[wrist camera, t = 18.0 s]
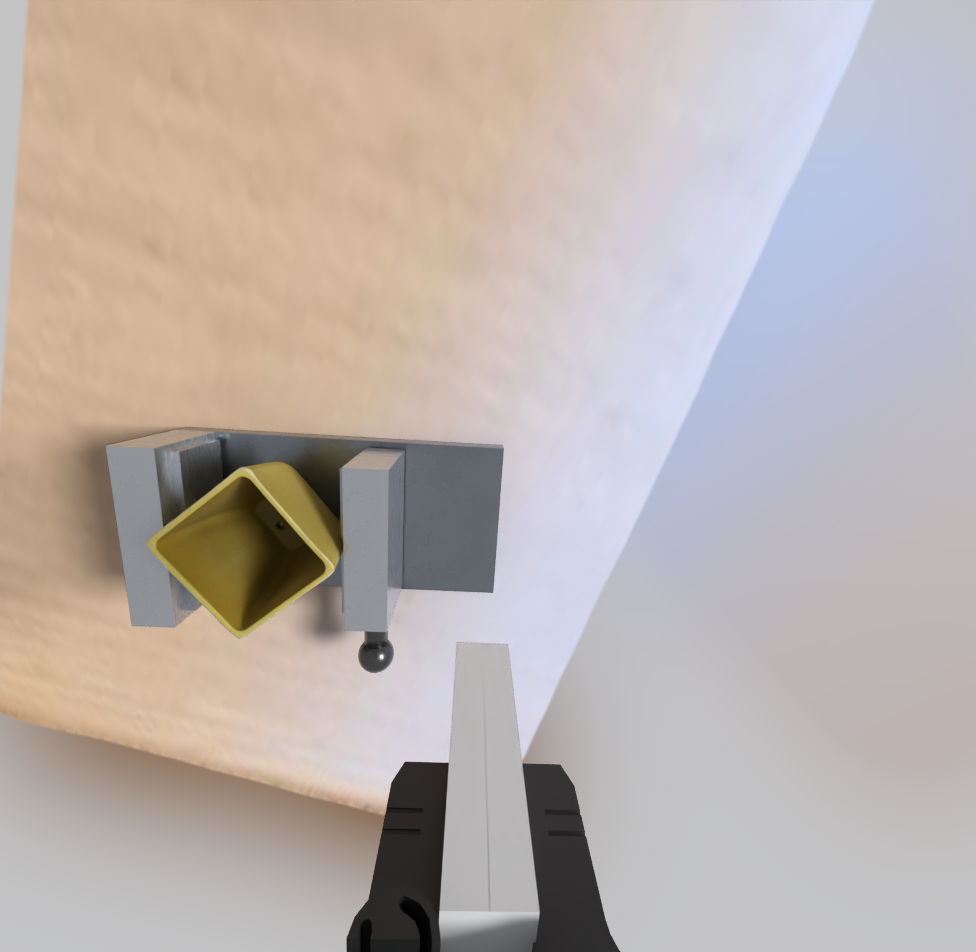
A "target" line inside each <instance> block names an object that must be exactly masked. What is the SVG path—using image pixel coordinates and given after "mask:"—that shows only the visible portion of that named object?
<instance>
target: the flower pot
mask: <svg viewBox="0 0 976 952" xmlns="http://www.w3.org/2000/svg"><path fill="white" fill-rule="evenodd" d="M279 522H281V523H283V524H284V527H283V528H279V527H278V526H277V524H278V523H279ZM146 545H147V547H148V548H149V550H150V551H151V552H152V554H153V555H154V556H155V557H156V558H157V559H158V560H159V561H160V562H161V563H162V564H163V565H164V566H165V567H166V568H167V569H168V570H169V572H170V573H171V574H173V575H174V576H175V577H176V578H177V579H178V580H179V581H180V582H181V583H182V584H183V585H184V587H185V588H186V589H187V590H188V591H189V592H191V593H192V594H193V596H195V597H196V598H197V599H198V600H199V601H200V602H201V603H202V605H203V606H204V607H205V608H206V609H207V610H208V611H209V612H210V613H211V614H212V615H213V616H214V617H215V618H216V619H217V620H218V621H219V622H220V623H221V624H222V625H223V626H224V627H225V628H226V629H227V630H228V631H229V632H231V633H232V634H233V635H235V636H236V637H237V638H239V639H240V638H243V637H245V636H247V635H248V634H250V633H251V632H253V631H254V630H255V629H257V628H258V627H259V626H261V625H262V624H263V623H265V622H266V621H267V620H269V619H270V618H272V617H273V616H274V615H276V614H277V613H278V612H280V611H281V610H283V609H284V608H285V607H287V606H288V605H289V604H291V603H292V602H294V601H295V600H296V599H298V598H299V597H301V596H302V595H303V594H305V593H306V592H308V591H309V590H311V589H312V588H314V587H315V586H317V585H318V584H320V583H321V582H322V581H324V580H325V579H326V578H328V577H329V576H330V575H331V574H332V573H333V572H334V570H335V568H336V565H337V563H338V561H339V558H340V556H341V554H342V551H343V549H342V546H341V522H340V521H339V520H338V518H337V517H336V516H335V515H334V514H333V513H332V512H331V510H330V509H329V508H328V507H327V506H326V505H325V503H324V502H323V501H322V500H321V499H320V498H319V496H318V495H317V494H316V493H315V492H314V490H313V489H312V488H311V487H310V486H309V485H308V483H307V482H306V481H305V480H304V479H303V477H302V476H301V475H300V474H299V473H298V472H297V471H296V470H295V469H294V468H293V467H291V466H290V465H288V464H286V463H283V462H269V463H262V464H257V465H251V466H246V467H241V468H239V469H237V470H236V471H234V472H233V473H232V474H231V475H229V476H228V477H227V478H226V479H225V480H223V481H222V482H221V483H220V484H218V485H217V486H216V487H214V488H213V489H212V490H211V491H209V492H208V493H207V494H206V495H204V496H203V497H202V498H201V499H199V500H198V501H197V502H195V503H194V504H193V505H192V506H190V507H189V508H188V509H186V510H185V511H184V512H182V513H181V514H180V515H179V516H177V517H176V518H175V519H174V520H172V521H171V522H170V523H168V524H167V525H166V526H164V527H163V528H162V529H160V530H159V531H158V532H156V533H155V534H154V535H153V536H152V537H150V538H149V539H148V540H147V542H146Z"/></svg>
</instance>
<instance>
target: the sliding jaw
mask: <svg viewBox="0 0 976 952" xmlns="http://www.w3.org/2000/svg"><path fill="white" fill-rule="evenodd" d="M404 467H405V450H401V449H384V448H366V449H365V450H363V451H362V452H361V453H360V454H358V455H357V456H356V457H354V458H353V459H352V460H350V461H349V462H348V463H347V464H345V465H344V466H343V467H342V468H340V516H341V546H342V549H343V551H342V554H341V574H342V613H344V614H345V631H365V641H364V643H363V644H362V645H361V647H360V649H359V653H358V658H359V662H360V665H361V666H362V667H363V668H364V669H365V670H366V671H368V672H371V673H378V672H381V671H383V670H385V669H386V668H387V667H388V666H389V665H390V663H391V662H392V659H393V655H394V650H393V646H392V644H391V643H390V641H389V640H388V628H389V625H390V622H391V618H392V615H393V612H394V609H395V606H396V603H397V600H398V597H399V594H400V591H401V588H402V573H403V520H404Z"/></svg>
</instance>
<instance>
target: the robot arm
mask: <svg viewBox="0 0 976 952" xmlns="http://www.w3.org/2000/svg"><path fill="white" fill-rule="evenodd" d="M347 952H620V951H619V949H618V948H617V946H616V944H615V942H614V940H613V938H612V936H611V935H610V932H609V929H608V926H607V923H606V920H605V916H604V912H603V908H602V903H601V899H600V894H599V890H598V886H597V882H596V878H595V873H594V869H593V865H592V860H591V856H590V852H589V847H588V844H587V839H586V837H585V831H584V826H583V822H582V817H581V815H580V809H579V805H578V800H577V796H576V792H575V787H574V785H573V783H572V782H571V780H570V779H569V777H568V776H567V774H566V773H565V771H564V770H563V768H562V767H561V765H555V764H552V765H551V764H522V758H521V749H520V741H519V732H518V724H517V715H516V707H515V698H514V690H513V681H512V673H511V664H510V656H509V647H508V644H493V643H468V642H457V645H456V660H455V676H454V692H453V707H452V723H451V739H450V754H449V763H431V762H405V763H404V764H403V766H402V767H401V769H400V770H399V772H398V773H397V775H396V777H395V778H394V780H393V781H392V783H391V788H390V793H389V798H388V803H387V810H386V814H385V819H384V825H383V830H382V834H381V839H380V844H379V849H378V855H377V859H376V864H375V870H374V875H373V880H372V885H371V890H370V895H369V900H368V901H367V902H366V903H365V905H364V906H363V907H362V909H361V910H360V911H359V912H358V914H357V915H356V916H355V918H354V921H353V923H352V926H351V928H350V931H349V934H348V936H347Z"/></svg>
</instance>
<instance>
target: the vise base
mask: <svg viewBox="0 0 976 952" xmlns="http://www.w3.org/2000/svg"><path fill="white" fill-rule="evenodd" d="M366 448H384V449H401V450H405V467H404V520H403V573H402V588H401V589H419V590H442V591H465V592H488V593H493V587H494V574H495V560H496V546H497V533H498V519H499V506H500V492H501V478H502V465H503V451H504V448H503V445H489V444H472V443H455V442H437V441H420V440H403V439H386V438H368V437H351V436H334V435H316V434H299V433H282V432H265V431H247V430H230V429H213V428H196V427H186V428H181V429H177V430H173V431H168V432H164V433H159V434H155V435H150V436H146V437H142V438H137V439H133V440H128V441H124V442H120V443H115V444H111V445H106V453H107V460H108V467H109V473H110V480H111V487H112V494H113V501H114V508H115V514H116V521H117V528H118V535H119V542H120V549H121V555H122V562H123V569H124V576H125V583H126V589H127V596H128V603H129V610H130V617H131V624H132V626H147V627H172V628H175V627H177V626H178V625H179V624H180V623H181V622H182V621H183V620H184V619H186V618H187V617H188V616H189V615H190V614H191V613H192V612H193V611H195V610H197V609H198V608H199V607H200V606H201V605H202V603H201V602H200V601H199V600H198V599H197V598H196V597H195V596H193V594H192V593H191V592H189V591H188V590H187V589H186V588H185V587H184V585H183V584H182V583H181V582H180V581H179V580H178V579H177V578H176V577H175V576H174V575H173V574H171V573H170V572H169V570H168V569H167V568H166V567H165V566H164V565H163V564H162V563H161V562H160V561H159V560H158V559H157V558H156V557H155V556H154V555H153V554H152V552H151V551H150V550H149V548H148V547H147V545H146V542H147V540H148V539H149V538H150V537H152V536H153V535H154V534H155V533H156V532H158V531H159V530H160V529H162V528H163V527H164V526H166V525H167V524H168V523H170V522H171V521H172V520H174V519H175V518H176V517H177V516H179V515H180V514H181V513H182V512H184V511H185V510H186V509H188V508H189V507H190V506H192V505H193V504H194V503H195V502H197V501H198V500H199V499H201V498H202V497H203V496H204V495H206V494H207V493H208V492H209V491H211V490H212V489H213V488H214V487H216V486H217V485H218V484H220V483H221V482H222V481H223V480H225V479H226V478H227V477H228V476H229V475H231V474H232V473H233V472H234V471H236V470H237V469H239V468H241V467H246V466H251V465H257V464H262V463H269V462H283V463H286V464H288V465H290V466H291V467H293V468H294V469H295V470H296V471H297V472H298V473H299V474H300V475H301V476H302V477H303V479H304V480H305V481H306V482H307V483H308V485H309V486H310V487H311V488H312V489H313V490H314V492H315V493H316V494H317V495H318V496H319V498H320V499H321V500H322V501H323V502H324V503H325V505H326V506H327V507H328V508H329V509H330V510H331V512H332V513H333V514H334V515H335V516H336V517H337V518H338V520H339V521H340V522H341V516H340V468H342V467H343V466H344V465H345V464H347V463H348V462H349V461H350V460H352V459H353V458H354V457H356V456H357V455H358V454H360V453H361V452H362V451H363V450H365V449H366ZM277 526H278V527H279V528H283V527H284V524H283V523H281V522H279V523H278V524H277ZM318 585H327V586H342V574H341V556H340V558H339V561H338V563H337V565H336V568H335V570H334V572H333V573H332V574H331V575H330V576H329V577H328V578H326V579H325V580H324V581H322V582H321V583H320V584H318Z"/></svg>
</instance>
